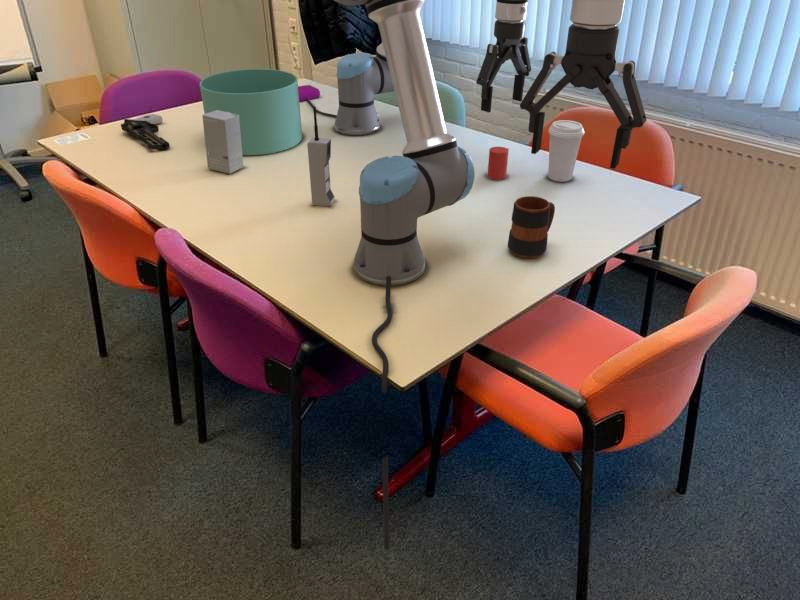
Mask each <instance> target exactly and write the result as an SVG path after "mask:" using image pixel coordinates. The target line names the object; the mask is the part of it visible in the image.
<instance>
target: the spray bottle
mask: <svg viewBox="0 0 800 600" xmlns="http://www.w3.org/2000/svg"><path fill="white" fill-rule="evenodd" d="M298 92H299V102H303V101H307V100H306V99H308V100H312V99H316V98H317V99H318V98H319V97H320V96H321V91H320V89H319V88H317V87H315V86H312V85H311V84H305V85H298Z"/></svg>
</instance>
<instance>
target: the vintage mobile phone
mask: <svg viewBox="0 0 800 600" xmlns="http://www.w3.org/2000/svg"><path fill="white" fill-rule="evenodd" d="M316 109H317V107H316V106H315V105H314V107H312V111H313V122H314V123H313V124H314V125H313V130H314V137H313V136H312V138H311V139H309V140H308V142H307V157H308V170H309V183H310V193H311V194H310V195H311V205H313V206H325V207H331V206H332V204H333V203H334V202H335V200H336V198H335V194H334V193H333V190H332V189H331V176H330V175H331V174H330V159H331V157H332V156H331V155H332V151H331V150H332V138H329V137H319V126H318V119H317V112H316Z"/></svg>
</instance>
